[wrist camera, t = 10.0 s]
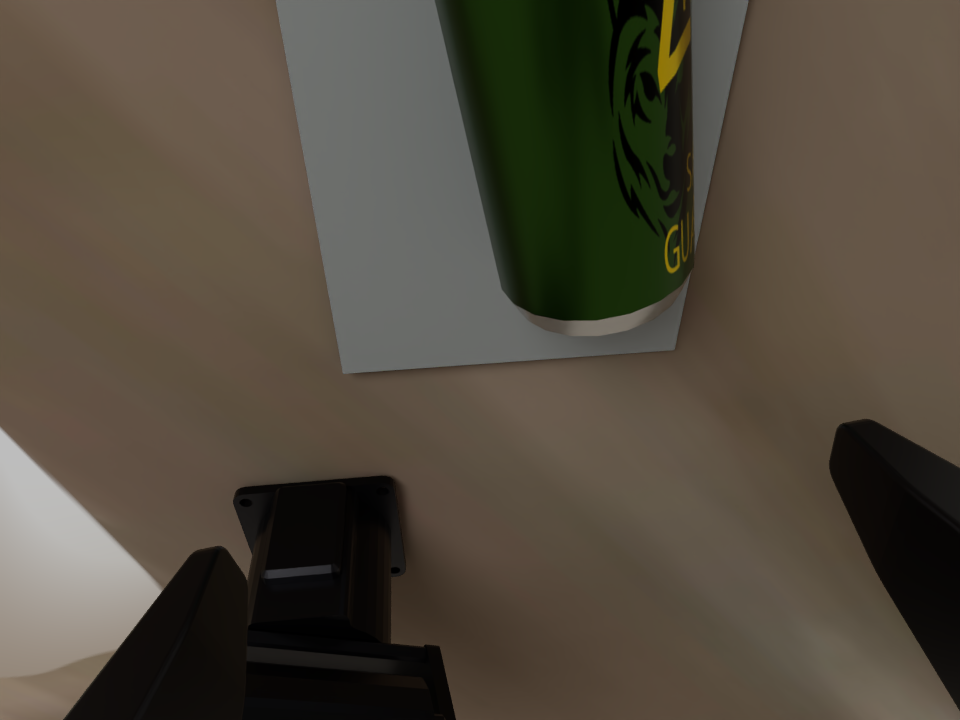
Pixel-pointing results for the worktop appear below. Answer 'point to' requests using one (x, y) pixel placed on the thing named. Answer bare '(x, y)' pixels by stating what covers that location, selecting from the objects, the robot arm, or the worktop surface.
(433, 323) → the grey mat
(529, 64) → the beer can
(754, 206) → the worktop surface
